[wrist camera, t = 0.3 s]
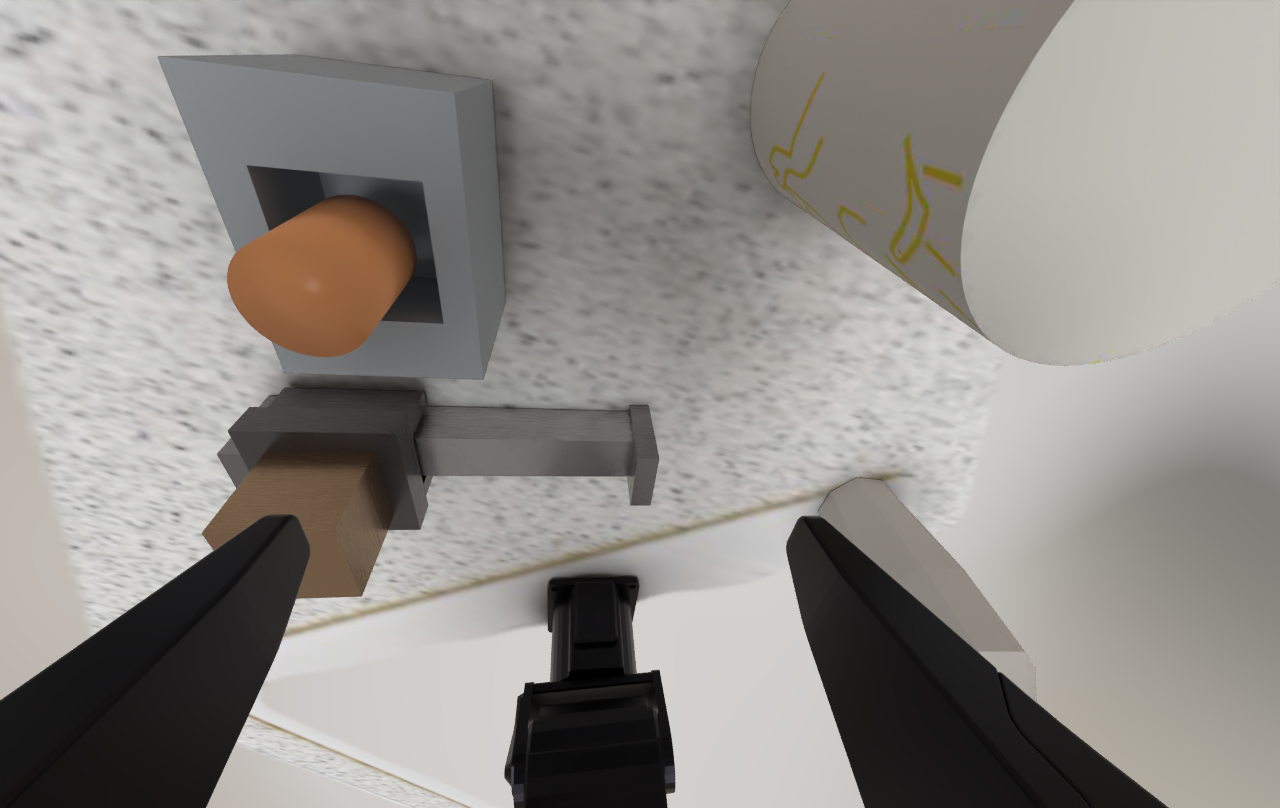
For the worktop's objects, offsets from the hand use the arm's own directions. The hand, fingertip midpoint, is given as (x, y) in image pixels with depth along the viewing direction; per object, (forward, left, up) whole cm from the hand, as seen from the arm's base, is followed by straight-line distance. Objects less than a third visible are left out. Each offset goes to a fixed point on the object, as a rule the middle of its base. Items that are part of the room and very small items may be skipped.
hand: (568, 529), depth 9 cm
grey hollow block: (+2, +6, -14) cm, 15 cm away
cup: (+7, -10, -14) cm, 19 cm away
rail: (-9, +5, -14) cm, 17 cm away
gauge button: (+2, +6, -8) cm, 10 cm away
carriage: (-9, +10, -14) cm, 19 cm away
